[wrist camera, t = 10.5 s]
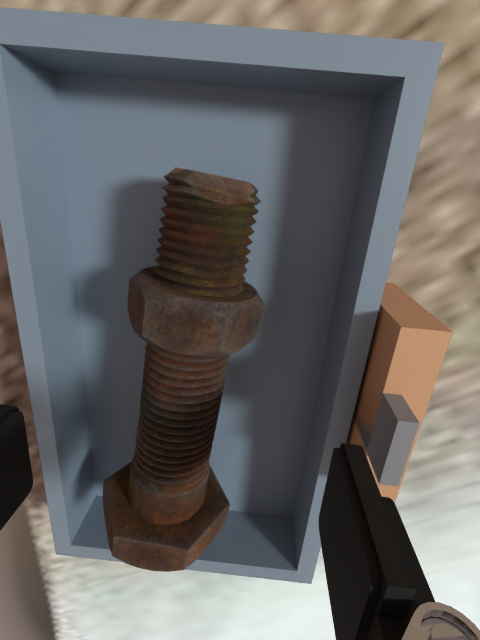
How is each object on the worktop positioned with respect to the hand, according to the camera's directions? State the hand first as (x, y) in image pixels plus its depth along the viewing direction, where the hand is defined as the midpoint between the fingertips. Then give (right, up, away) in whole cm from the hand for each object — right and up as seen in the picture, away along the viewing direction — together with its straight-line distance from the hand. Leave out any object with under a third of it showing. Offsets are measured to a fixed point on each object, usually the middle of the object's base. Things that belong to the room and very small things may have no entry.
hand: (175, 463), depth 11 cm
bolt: (0, +3, +6) cm, 6 cm away
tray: (0, +3, +6) cm, 7 cm away
